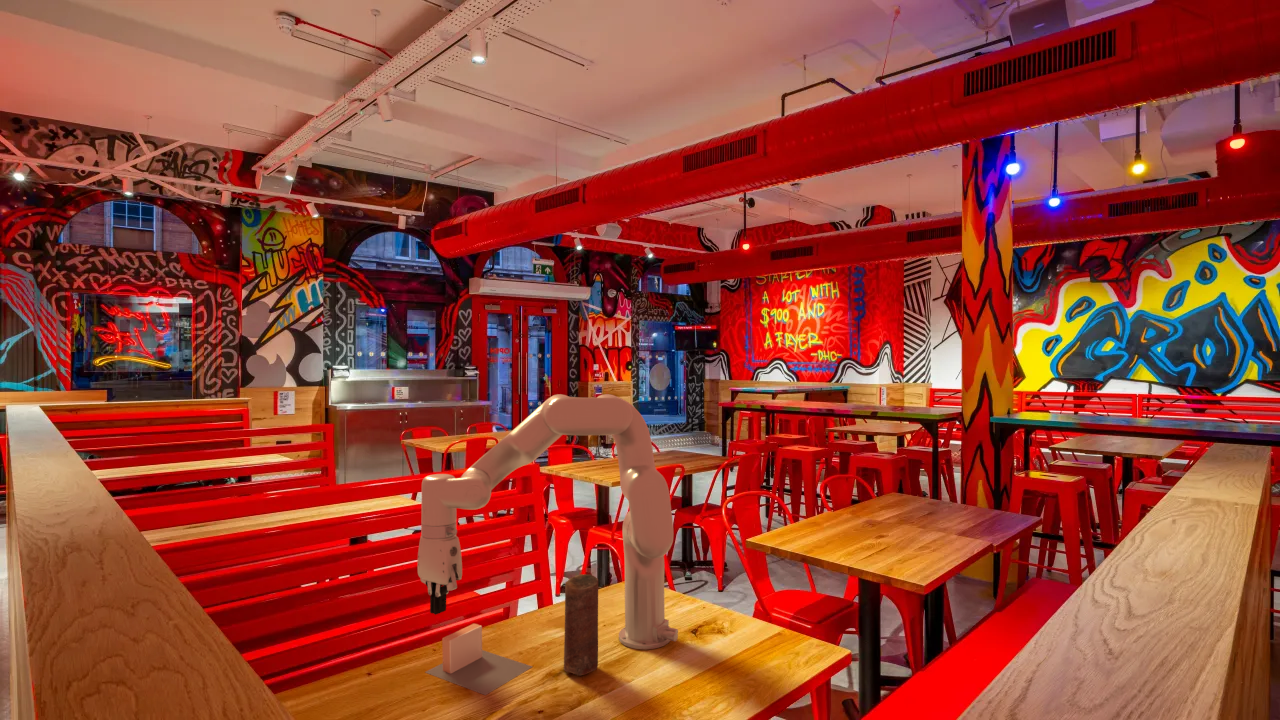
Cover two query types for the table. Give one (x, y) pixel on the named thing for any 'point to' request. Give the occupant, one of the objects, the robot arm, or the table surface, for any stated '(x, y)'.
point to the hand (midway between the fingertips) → (438, 611)
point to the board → (483, 673)
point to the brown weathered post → (581, 624)
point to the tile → (462, 648)
